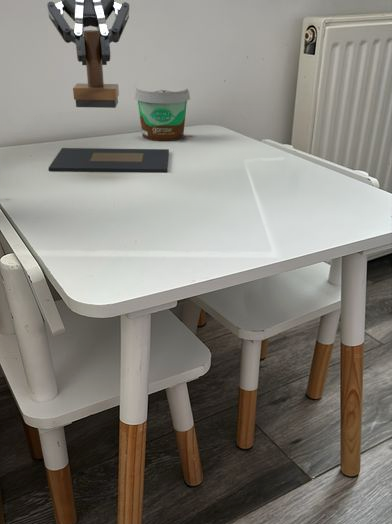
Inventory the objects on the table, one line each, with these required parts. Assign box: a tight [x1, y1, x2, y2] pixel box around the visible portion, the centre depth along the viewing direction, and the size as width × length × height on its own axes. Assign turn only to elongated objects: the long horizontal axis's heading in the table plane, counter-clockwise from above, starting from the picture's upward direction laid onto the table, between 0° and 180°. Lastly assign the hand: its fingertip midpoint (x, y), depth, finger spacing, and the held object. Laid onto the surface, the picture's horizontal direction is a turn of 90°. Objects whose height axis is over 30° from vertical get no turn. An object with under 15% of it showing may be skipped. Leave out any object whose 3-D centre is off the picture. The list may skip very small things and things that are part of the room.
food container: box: [134, 87, 191, 142], centre depth 122 cm, size 12×6×10 cm, turn 104°
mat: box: [47, 147, 170, 173], centre depth 109 cm, size 22×14×1 cm, turn 91°
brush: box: [72, 29, 120, 109], centre depth 92 cm, size 7×4×11 cm, turn 91°
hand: (94, 61), depth 89 cm, fingers closed on brush, 2 cm apart
